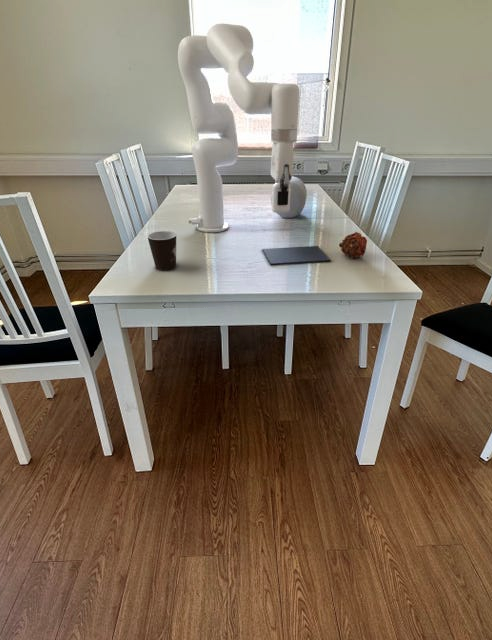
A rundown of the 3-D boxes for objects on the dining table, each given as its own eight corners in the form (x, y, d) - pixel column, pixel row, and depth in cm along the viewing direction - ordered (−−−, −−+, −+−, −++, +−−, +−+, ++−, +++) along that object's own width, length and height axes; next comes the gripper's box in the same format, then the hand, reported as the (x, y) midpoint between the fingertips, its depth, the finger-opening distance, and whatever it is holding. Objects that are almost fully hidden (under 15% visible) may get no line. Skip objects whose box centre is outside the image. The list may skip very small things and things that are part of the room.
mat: (270, 265, 126) (270, 263, 126) (262, 250, 137) (262, 248, 137) (330, 261, 129) (330, 259, 129) (317, 247, 140) (317, 245, 140)
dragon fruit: (352, 267, 129) (346, 259, 139) (375, 252, 126) (367, 245, 137) (339, 246, 126) (333, 239, 136) (363, 230, 123) (355, 224, 134)
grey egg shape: (255, 205, 170) (271, 185, 187) (277, 232, 175) (290, 210, 192) (288, 177, 158) (301, 158, 175) (310, 206, 163) (321, 185, 180)
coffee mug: (166, 274, 119) (162, 241, 114) (146, 268, 123) (141, 236, 117) (191, 262, 127) (188, 231, 122) (171, 257, 131) (167, 227, 126)
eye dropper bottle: (288, 213, 122) (290, 171, 115) (270, 212, 123) (271, 170, 116) (290, 210, 126) (292, 169, 119) (273, 209, 127) (274, 168, 120)
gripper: (265, 133, 119) (264, 197, 129) (277, 139, 105) (274, 210, 116) (289, 133, 120) (286, 196, 130) (304, 139, 106) (299, 209, 117)
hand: (281, 202), depth 123 cm, fingers closed on eye dropper bottle, 3 cm apart
